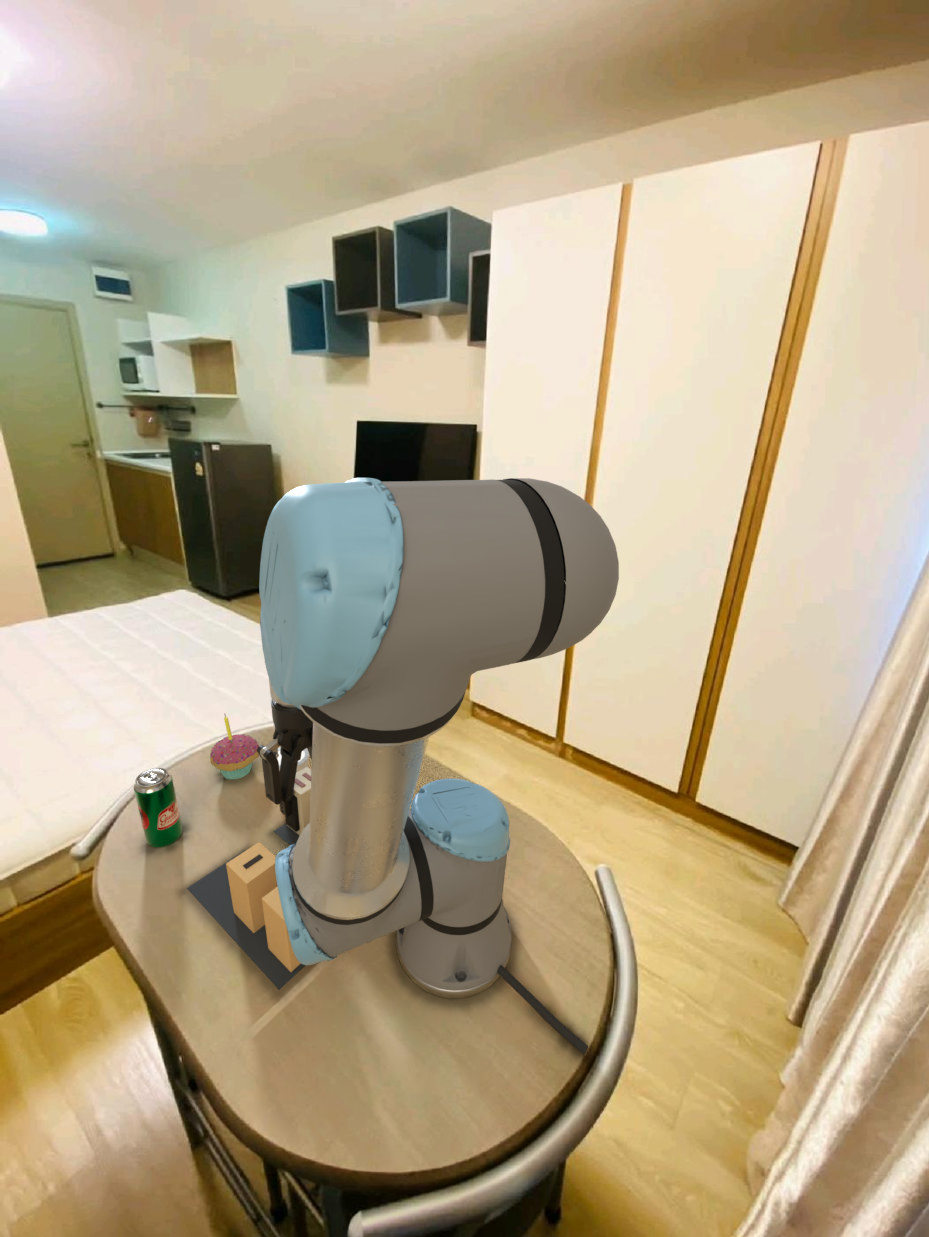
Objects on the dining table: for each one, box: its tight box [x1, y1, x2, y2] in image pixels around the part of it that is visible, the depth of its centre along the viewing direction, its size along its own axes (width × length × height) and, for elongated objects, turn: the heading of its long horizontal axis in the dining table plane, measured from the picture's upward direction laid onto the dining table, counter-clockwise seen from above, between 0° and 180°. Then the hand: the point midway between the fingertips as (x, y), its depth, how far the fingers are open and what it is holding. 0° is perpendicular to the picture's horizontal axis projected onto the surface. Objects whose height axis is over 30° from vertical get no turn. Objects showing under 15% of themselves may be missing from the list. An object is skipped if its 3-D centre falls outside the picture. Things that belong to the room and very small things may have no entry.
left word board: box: [186, 841, 307, 991], centre depth 70 cm, size 22×9×10 cm, turn 53°
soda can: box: [133, 767, 183, 849], centre depth 80 cm, size 5×5×12 cm
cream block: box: [287, 767, 312, 835], centre depth 85 cm, size 5×5×9 cm
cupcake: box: [209, 712, 260, 780], centre depth 95 cm, size 9×8×12 cm
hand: (307, 816), depth 86 cm, fingers closed on cream block, 5 cm apart
